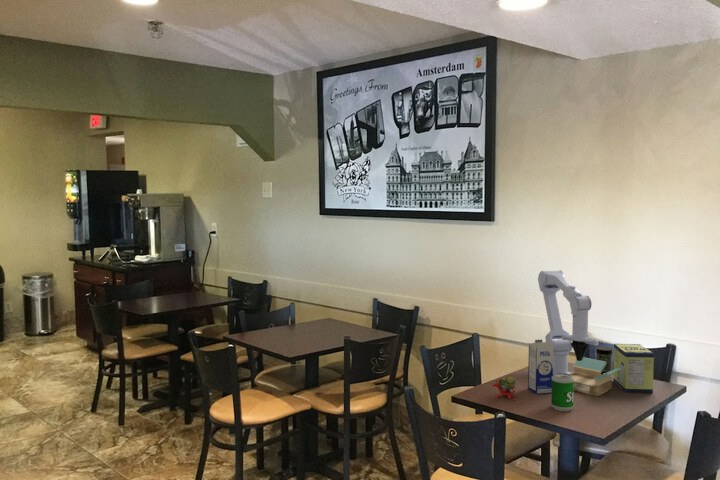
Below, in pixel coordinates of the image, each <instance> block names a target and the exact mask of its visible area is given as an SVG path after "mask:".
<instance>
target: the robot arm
mask: <svg viewBox="0 0 720 480" xmlns="http://www.w3.org/2000/svg"><path fill="white" fill-rule="evenodd" d="M537 281H538V287H539V290H540V292H541V293H542V295H543V301H544V304H545V305H544V306H545V310H546V315H547V320H548V326H549V332H548V333H547V334H546V335H545V336H544V338H545V339H544V340H545V342H554V343H553V376H554V374H556V373H566V374H570V373H572V372H570V371H568V367H569V366H568V362H569V360H568V359H569V358H568V355H569V354H570V352H571V351H572V350H573V351H574V354H575V355H574V356H575V359H576V360H577V361H582V359H583V357H584V356H585V352H586V350H587V348H588V346H589V345H592V346H595V347H598V346H599V339H595V338H592V337H588V336H589V335H588V333H589V332H588V330H589V311H590V310H591V308H592V300H591V297H590V295H589V296H588V295H583V294H582V293H581V292H580V291H579V289H578V288H577V287H576V286H575V285H570V283H569V282H568V281H567V280H566V275H565V273H564V271H563V270H546V271H545V270H541V271H540V272H539V273H538V277H537ZM560 291H562V294H563V295H562V296H563V297H564V298H565V299H566V301H568V303H569V307H570V310H571V313H570V314H571V315H572V330H571V332H572V333H571V334H570V333H569V332H567V331H566V330H565V329H563V328H564V327H563V325H562V320H561V319H562V318H561V314H560V309H559V304H558V299H557V296H556V294H557V292H560Z"/></svg>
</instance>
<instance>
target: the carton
mask: <svg viewBox="0 0 720 480" xmlns="http://www.w3.org/2000/svg"><path fill="white" fill-rule="evenodd" d="M570 375H571V376H572V377H573V378H574V392H575V391H576V392H579V393H584V394H587V395H591V396H595V397H599V396H601V395H602V394H605V393H607V392H609V391H611V390H612V389H613V379H612V380H610V381H607V382H605V383H603V384H601V385H598V386H597V384H596V382H595V380H594V379H593V378H596V376H591V375H587V374H582V373H578V372H574V371H572V372H571V373H570ZM610 389H611V390H610ZM608 390H609V391H608Z"/></svg>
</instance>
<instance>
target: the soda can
mask: <svg viewBox="0 0 720 480" xmlns="http://www.w3.org/2000/svg"><path fill="white" fill-rule="evenodd" d="M574 392H575V391H574V378H573V377H572V376H571V375H570V374H566V373H556V374H554V375H553V376H552V388H551V393H550V395H551V396H550V397H551V399H550V401H551V403H550V406H551V407H552V408H553V409H554V410H556V411H558V412H570V411H572V409H574V400H575V399H574V398H575V397H574V396H575V395H574V394H575V393H574Z"/></svg>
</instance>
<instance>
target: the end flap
mask: <svg viewBox="0 0 720 480" xmlns="http://www.w3.org/2000/svg"><path fill="white" fill-rule="evenodd" d="M613 369H614V368H613ZM613 369H612V371H609V372H607V373H605V374H602V375H600V376H598V377H596V376H595V377H596V378H593V379H594V380H595V382H596V384H597V386H598V385H601V384H603V383H605V382H607V381H610V380H612V381H613V377H611V375H612V374H613V373H614V372H617V371H619V370H621V368H620V367H619V368H616V369H614V370H613Z"/></svg>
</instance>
